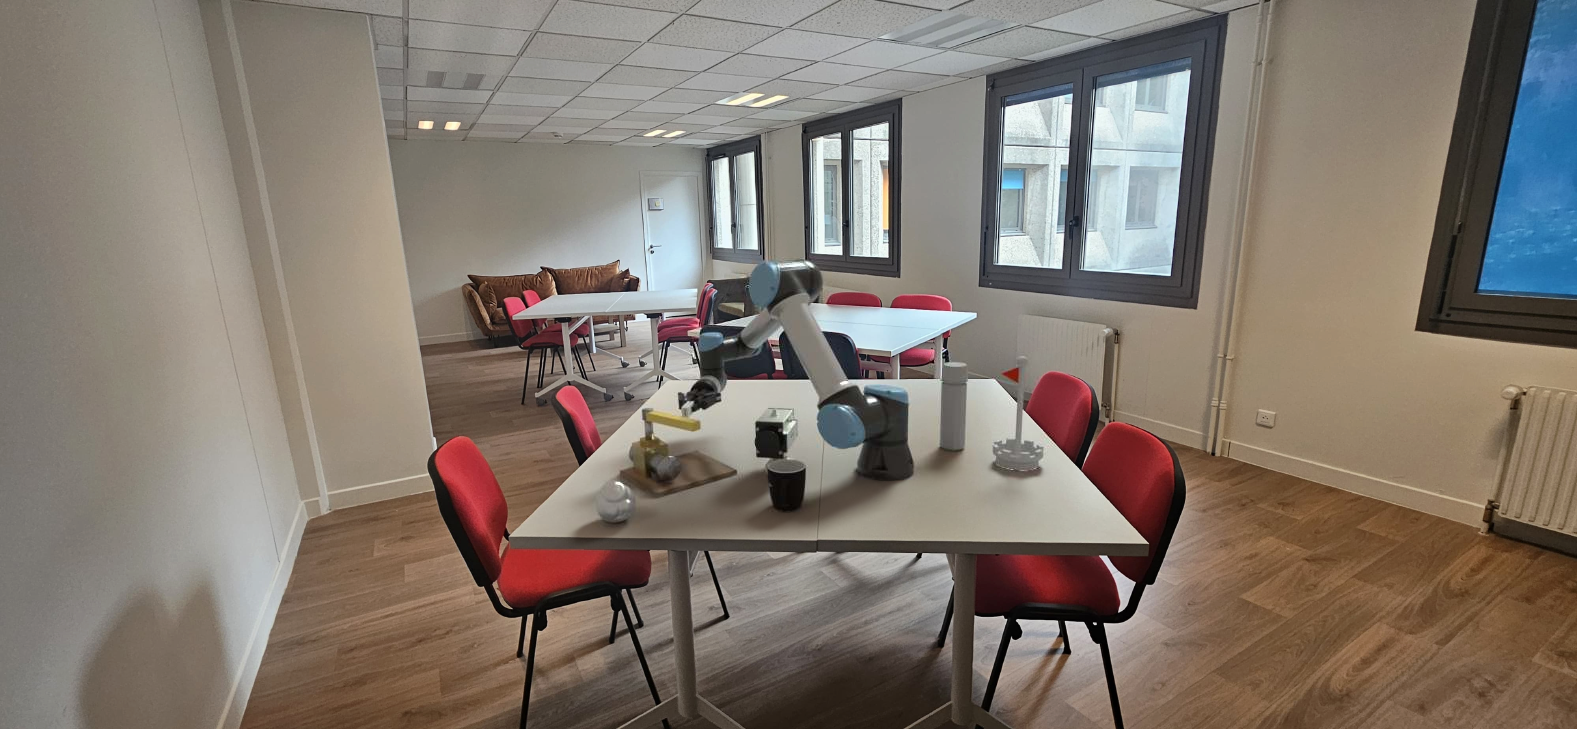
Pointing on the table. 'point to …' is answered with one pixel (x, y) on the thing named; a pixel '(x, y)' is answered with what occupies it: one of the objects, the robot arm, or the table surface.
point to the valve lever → (670, 420)
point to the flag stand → (1018, 432)
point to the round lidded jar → (615, 502)
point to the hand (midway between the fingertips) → (685, 412)
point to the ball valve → (775, 434)
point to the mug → (787, 484)
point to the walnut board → (683, 474)
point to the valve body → (653, 457)
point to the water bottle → (953, 406)
